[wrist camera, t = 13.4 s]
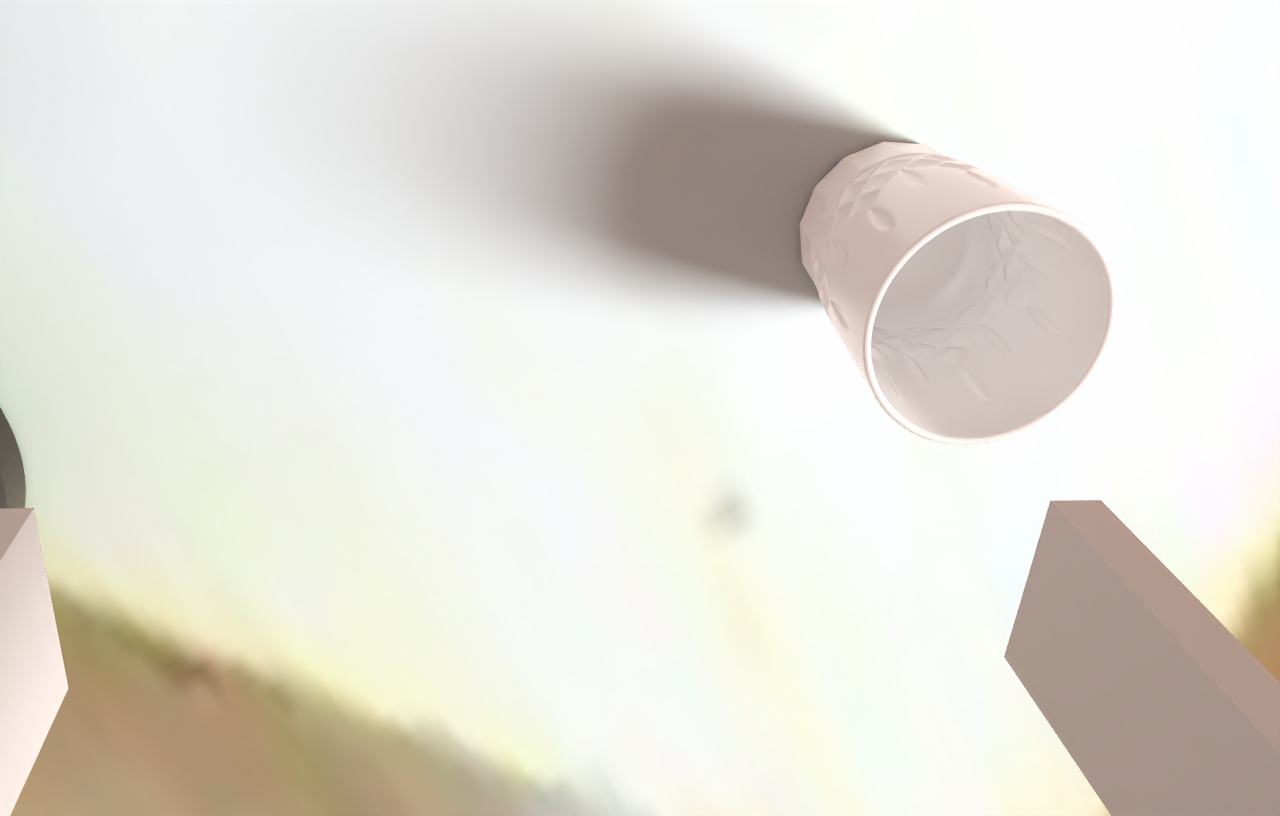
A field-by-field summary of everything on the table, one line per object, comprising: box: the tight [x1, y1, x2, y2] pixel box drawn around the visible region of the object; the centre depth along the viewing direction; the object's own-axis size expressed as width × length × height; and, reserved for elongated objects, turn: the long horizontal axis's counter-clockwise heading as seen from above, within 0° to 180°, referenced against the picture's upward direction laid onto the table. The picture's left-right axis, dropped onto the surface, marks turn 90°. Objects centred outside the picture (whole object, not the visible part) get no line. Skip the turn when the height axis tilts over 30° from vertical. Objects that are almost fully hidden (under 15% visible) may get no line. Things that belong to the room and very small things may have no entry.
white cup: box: [800, 141, 1117, 445], centre depth 37 cm, size 8×8×10 cm
